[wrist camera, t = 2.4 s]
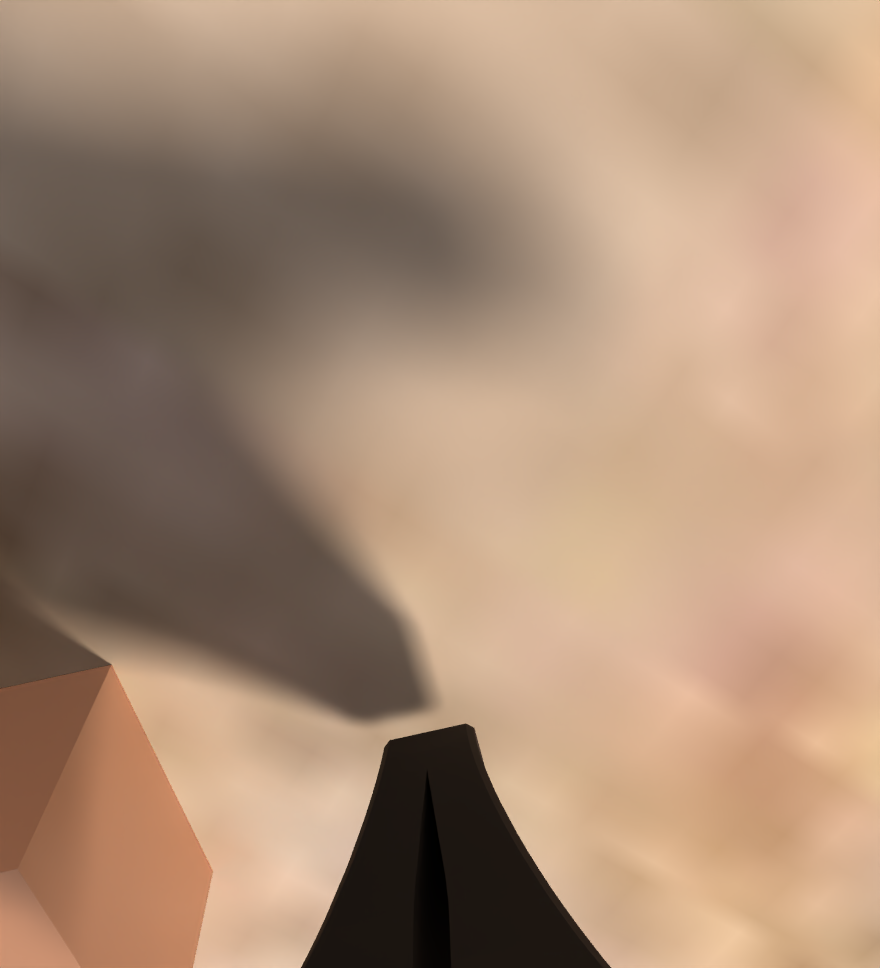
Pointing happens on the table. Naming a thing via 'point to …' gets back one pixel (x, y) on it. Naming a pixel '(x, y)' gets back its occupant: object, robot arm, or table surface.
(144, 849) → the terracotta block
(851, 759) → the table surface
